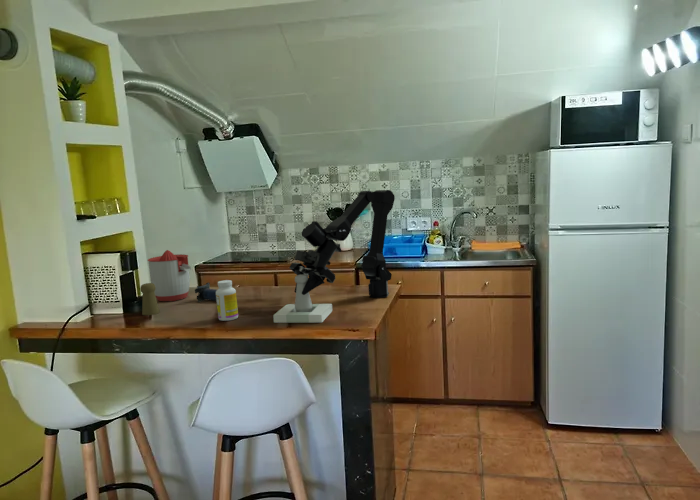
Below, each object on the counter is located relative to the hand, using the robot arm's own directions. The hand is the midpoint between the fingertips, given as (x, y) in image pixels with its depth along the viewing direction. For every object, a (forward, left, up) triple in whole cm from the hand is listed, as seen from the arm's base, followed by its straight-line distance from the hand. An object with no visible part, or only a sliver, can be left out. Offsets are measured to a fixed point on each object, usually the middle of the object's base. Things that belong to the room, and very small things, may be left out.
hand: (299, 293), depth 180 cm
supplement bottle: (+25, +1, -8) cm, 27 cm away
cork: (+59, -7, -8) cm, 60 cm away
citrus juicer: (+62, -29, -8) cm, 69 cm away
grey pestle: (-1, -1, -7) cm, 7 cm away
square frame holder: (-1, -1, -8) cm, 8 cm away
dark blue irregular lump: (+43, -25, -9) cm, 50 cm away
